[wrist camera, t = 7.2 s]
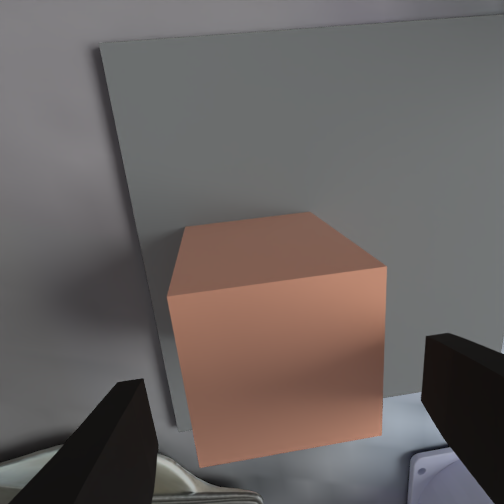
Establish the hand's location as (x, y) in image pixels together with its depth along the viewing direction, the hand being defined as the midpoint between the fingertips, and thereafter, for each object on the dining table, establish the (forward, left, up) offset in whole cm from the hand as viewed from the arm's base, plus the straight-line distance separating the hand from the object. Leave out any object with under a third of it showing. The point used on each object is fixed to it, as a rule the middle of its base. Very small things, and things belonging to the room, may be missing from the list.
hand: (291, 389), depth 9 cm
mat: (+1, -4, -7) cm, 8 cm away
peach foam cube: (0, 0, -7) cm, 7 cm away
